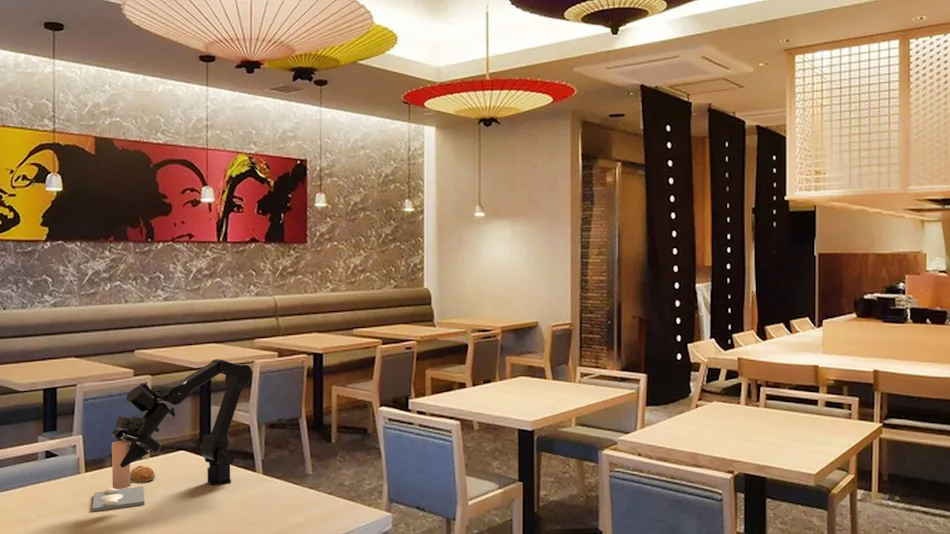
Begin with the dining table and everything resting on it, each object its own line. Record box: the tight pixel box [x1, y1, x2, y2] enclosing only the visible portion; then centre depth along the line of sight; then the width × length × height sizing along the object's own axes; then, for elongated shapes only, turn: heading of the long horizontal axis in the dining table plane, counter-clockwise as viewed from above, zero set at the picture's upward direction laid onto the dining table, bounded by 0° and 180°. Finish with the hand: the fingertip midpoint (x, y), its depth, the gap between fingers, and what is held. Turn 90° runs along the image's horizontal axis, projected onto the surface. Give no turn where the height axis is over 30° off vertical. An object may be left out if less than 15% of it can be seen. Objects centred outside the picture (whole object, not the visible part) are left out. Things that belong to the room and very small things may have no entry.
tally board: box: [91, 486, 145, 512], centre depth 233 cm, size 14×16×2 cm
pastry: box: [130, 465, 156, 483], centre depth 254 cm, size 9×7×4 cm
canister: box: [111, 440, 132, 489], centre depth 224 cm, size 5×5×13 cm
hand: (116, 465), depth 223 cm, fingers closed on canister, 5 cm apart
